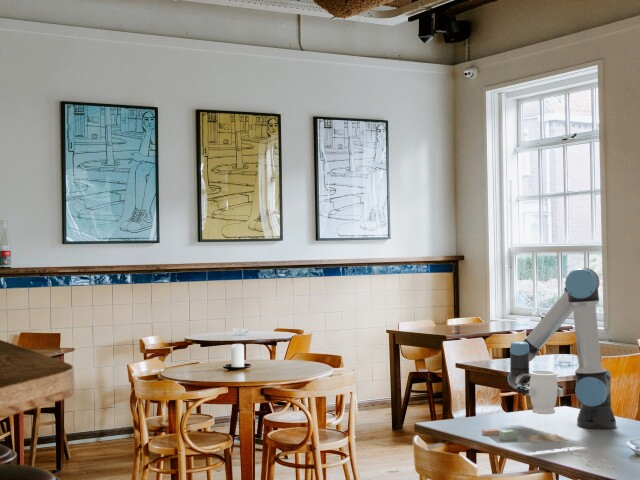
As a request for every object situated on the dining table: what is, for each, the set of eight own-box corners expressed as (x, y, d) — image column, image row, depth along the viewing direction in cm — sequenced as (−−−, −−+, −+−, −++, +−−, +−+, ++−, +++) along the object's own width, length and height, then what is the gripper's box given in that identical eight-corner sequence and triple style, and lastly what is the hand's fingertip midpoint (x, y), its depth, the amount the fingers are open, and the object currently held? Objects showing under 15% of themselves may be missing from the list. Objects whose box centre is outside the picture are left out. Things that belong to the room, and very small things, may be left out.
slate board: (519, 438, 312) (519, 435, 312) (529, 445, 300) (529, 441, 300) (488, 439, 311) (488, 436, 311) (497, 446, 299) (497, 442, 299)
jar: (559, 415, 301) (558, 374, 301) (530, 414, 303) (529, 374, 304) (556, 410, 311) (556, 371, 312) (528, 409, 314) (528, 370, 314)
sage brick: (512, 437, 308) (512, 429, 308) (517, 438, 306) (517, 430, 306) (499, 438, 306) (499, 430, 306) (504, 440, 303) (504, 432, 303)
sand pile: (556, 437, 313) (556, 434, 313) (567, 444, 301) (567, 440, 301) (522, 438, 312) (522, 435, 312) (533, 445, 300) (533, 441, 300)
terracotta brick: (496, 436, 317) (496, 428, 317) (500, 438, 314) (499, 430, 314) (482, 437, 315) (482, 429, 315) (485, 439, 312) (485, 431, 312)
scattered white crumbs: (587, 452, 290) (587, 448, 290) (614, 470, 265) (614, 465, 265) (567, 452, 290) (567, 448, 290) (592, 470, 265) (592, 465, 265)
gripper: (555, 393, 326) (577, 402, 304) (499, 393, 324) (517, 403, 302) (555, 374, 326) (577, 382, 304) (499, 374, 325) (517, 383, 303)
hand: (547, 392), depth 303 cm, fingers closed on jar, 10 cm apart
